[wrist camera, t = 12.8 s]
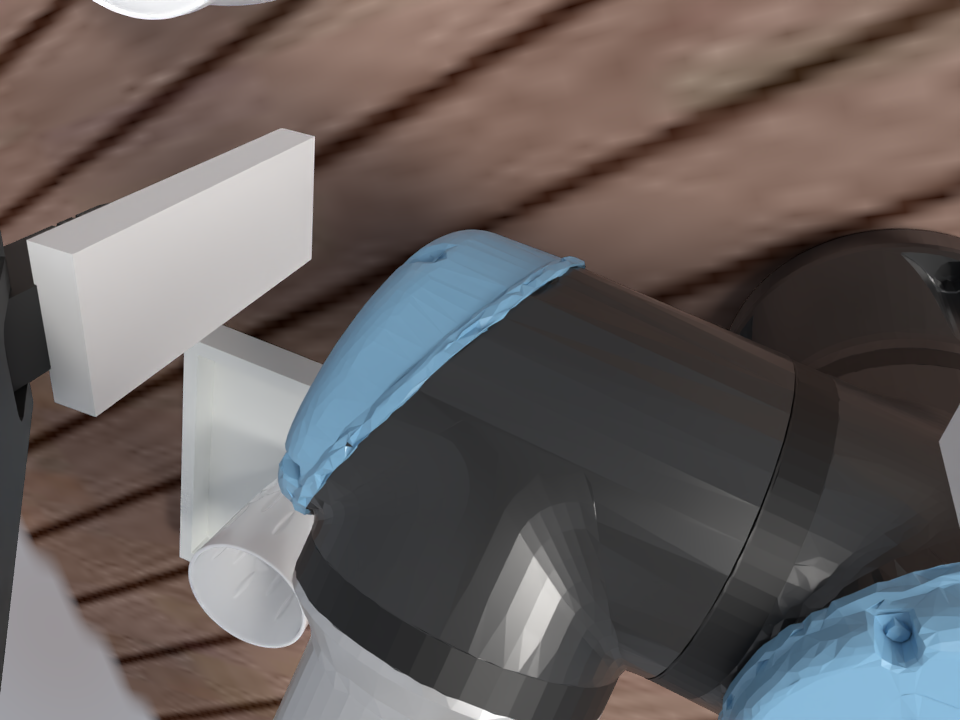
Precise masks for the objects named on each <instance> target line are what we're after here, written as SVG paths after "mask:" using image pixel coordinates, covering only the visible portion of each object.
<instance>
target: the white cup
mask: <svg viewBox="0 0 960 720" xmlns="http://www.w3.org/2000/svg"><path fill="white" fill-rule="evenodd" d="M313 523H314V515H308V514H306V515H304V514H302V513H300V512H298V511H296V510H294V507H293V504H292V502H291V501H290V500H289V499H287V498H286V497H285V496H284V495H283V494H282V492H281V490H280V487H279V483H278V477H277V478H276V479H275V480H274V481H273V482H272V483H270V484H269V485H268V486H266V487H265V488H264V489H262V490H261V491H260V492H259V493H258V494H257V495H256V496H255V497H254V498H253V499H252V500H251V501H250V502H248V503H247V504H246V505H245V506H244V507H243V508H242V509H241V510H240V511H239V512H238V513H236V514H235V515H234V516H233V517H232V518H231V519H230V520H229V521H228V522H227V523H226V524H225V525H224V526H223V527H222V528H221V529H220V530H219V531H218V532H217V533H216V534H215V535H214V536H213V537H212V538H211V539H210V540H209V541H207V542H206V543H205V544H204V545H203V546H202V547H201V548H200V549H199V550H198V551H197V552H196V553H195V554H194V555H193V557H192V559H191V561H190V564H189V569H188V576H189V582H190V586H191V589H192V591H193V594H194V596H195V598H196V599H197V601H198V603H199V604H200V606H201V607H202V608H203V610H204V611H205V612H206V613H207V615H208V616H209V617H210V618H211V619H212V620H213V621H214V622H215V623H217V624H218V625H219V626H220V627H221V628H223V629H224V630H225V631H227V632H228V633H230V634H231V635H233V636H235V637H237V638H238V639H240V640H243V641H245V642H247V643H250V644H253V645H256V646H260V647H266V648H280V647H285V646H288V645H291V644H293V643H294V642H296V641H297V640H298V639H299V638H300V637H301V635H302V634H303V632H304V630H305V629H306V627H307V626H308V624H309V623H308V620H307V618H306V616H305V614H304V611H303V609H302V607H301V605H300V602H299V600H298V598H297V595H296V593H295V591H294V587H293V583H292V575H293V571H294V568H295V565H296V561H297V559H298V557H299V555H300V553H301V551H302V549H303V546H304V544H305V542H306V540H307V538H308V535H309V533H310V531H311V529H312V525H313Z"/></svg>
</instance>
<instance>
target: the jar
mask: <svg viewBox="0 0 960 720" xmlns="http://www.w3.org/2000/svg"><path fill="white" fill-rule="evenodd" d="M93 1H94V2H96V3H98V4H100V5H101V6H103V7H105V8H107V9H110V10H112V11H114V12H117V13H120V14H123V15H126V16H130V17H134V18H139V19H149V20H158V19H168V18H173V17H177V16H181V15H185V14H189V13H192V12H195V11H197V10H200V9H202V8H204V7H206V6H208V5H218V6H241V5H253V4H260V3H266V2H271V1H275V0H93Z"/></svg>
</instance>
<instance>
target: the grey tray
mask: <svg viewBox="0 0 960 720" xmlns="http://www.w3.org/2000/svg"><path fill="white" fill-rule="evenodd" d="M322 365H323V364H320V363H318V362H315V361H313V360H310V359H308V358H305V357H303V356H300V355H298V354H295V353H292V352H290V351H287V350H285V349H282V348H280V347H277V346H275V345H272V344H270V343H267V342H264V341H262V340H259V339H257V338H254V337H252V336H249V335H247V334H244V333H242V332H239V331H236V330H234V329H231V328H229V327H226V326H224V325H221V326H220V327H218V328H217V329H215V330H214V331H213V332H211V333H210V334H209V335H207V336H206V337H205V338H203V339H202V340H200V341H199V342H198V343H196V344H195V345H194V346H192V347H191V348H190V349H188V350H187V351H185V352H184V381H183V425H182V470H181V515H180V557H181V558H183V559H185V560H187V561H189V562H190V561H191V559H192V557H193V555H194V554H195V553H196V552H197V551H198V550H199V549H200V548H201V547H202V546H203V545H204V544H205V543H206V542H207V541H209V540H210V539H211V538H212V537H213V536H214V535H215V534H216V533H217V532H218V531H219V530H220V529H221V528H222V527H223V526H224V525H225V524H226V523H227V522H228V521H229V520H230V519H231V518H232V517H233V516H234V515H235V514H236V513H238V512H239V511H240V510H241V509H242V508H243V507H244V506H245V505H246V504H247V503H248V502H250V501H251V500H252V499H253V498H254V497H255V496H256V495H257V494H258V493H259V492H260V491H261V490H262V489H264V488H265V487H266V486H268V485H269V484H270V483H272V482H273V481H274V480H275V479H276V478H277V477H278V469H279V463H280V462H281V460H282V458H283V457H284V455H285V453H286V452H287V451H286V449H285V442H286V439H287V435H288V432H289V430H290V427H291V425H292V422H293V420H294V418H295V416H296V414H297V411H298V409H299V407H300V405H301V403H302V401H303V399H304V398H305V396H306V394H307V392H308V390H309V388H310V386H311V384H312V383H313V381H314V379H315V377H316V376H317V374H318V372H319V371H320V369H321V367H322Z"/></svg>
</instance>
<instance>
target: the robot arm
mask: <svg viewBox="0 0 960 720" xmlns="http://www.w3.org/2000/svg"><path fill="white" fill-rule="evenodd" d="M314 151H315V136H311V135H307V134H303V133H299V132H296V131H292V130H288V129H284V128H280V129H278V130H276V131H273V132H271V133H269V134H267V135H264V136H262V137H260V138H258V139H255V140H253V141H251V142H248V143H246V144H244V145H242V146H239V147H237V148H235V149H232V150H230V151H228V152H226V153H223V154H221V155H219V156H217V157H214V158H212V159H210V160H207V161H205V162H203V163H201V164H198V165H196V166H194V167H192V168H189V169H187V170H185V171H182V172H180V173H178V174H176V175H173V176H171V177H169V178H167V179H164V180H162V181H160V182H157V183H155V184H153V185H151V186H148V187H146V188H144V189H142V190H139V191H137V192H135V193H132V194H130V195H128V196H126V197H123V198H121V199H119V200H116V201H114V202H112V203H108V204H103V205H99V206H96V207H94V208H92V209H89V210H87V211H85V212H82V213H80V214H78V215H76V218H72V217H71V218H69V219H66V220H64V221H62V222H60V223H57V226H56V227H55V226H50V227H48V228H46V229H43V230H41V231H39V232H37V233H34V234H32V235H30V236H27V237H25V238H23V239H20V240H18V241H16V242H14V243H11V244H9V245H7V246H4V247H3V242H2V237H1V232H0V690H1V681H2V672H3V664H4V655H5V646H6V637H7V628H8V620H9V611H10V601H11V593H12V585H13V576H14V567H15V558H16V550H17V541H18V532H19V523H20V515H21V506H22V497H23V488H24V480H25V471H26V462H27V453H28V445H29V436H30V427H31V418H32V409H33V398H32V393H31V388H30V382H31V381H32V380H34V379H35V378H37V377H39V376H40V375H42V374H43V373H45V372H47V371H48V370H49V372H50V378H51V384H52V389H53V395H54V401H55V403H58V404H61V405H64V406H67V407H69V408H72V409H75V410H78V411H80V412H83V413H86V414H89V415H92V416H94V417H97V416H98V415H99V414H101V413H102V412H103V411H105V410H106V409H108V408H109V407H110V406H112V405H113V404H114V403H116V402H117V401H118V400H120V399H121V398H123V397H124V396H125V395H127V394H128V393H129V392H131V391H132V390H133V389H135V388H136V387H138V386H139V385H140V384H142V383H143V382H144V381H146V380H147V379H149V378H150V377H151V376H153V375H154V374H155V373H157V372H158V371H159V370H161V369H162V368H164V367H165V366H166V365H168V364H169V363H170V362H172V361H173V360H174V359H176V358H177V357H179V356H180V355H181V354H183V353H184V352H185V351H187V350H188V349H190V348H191V347H192V346H194V345H195V344H196V343H198V342H199V341H200V340H202V339H203V338H205V337H206V336H207V335H209V334H210V333H211V332H213V331H214V330H215V329H217V328H218V327H220V326H221V325H222V324H224V323H225V322H226V321H228V320H229V319H231V318H232V317H233V316H235V315H236V314H237V313H239V312H240V311H241V310H243V309H244V308H246V307H247V306H248V305H250V304H251V303H252V302H254V301H255V300H256V299H258V298H259V297H261V296H262V295H263V294H265V293H266V292H267V291H269V290H270V289H272V288H273V287H274V286H276V285H277V284H278V283H280V282H281V281H282V280H284V279H285V278H287V277H288V276H289V275H291V274H292V273H293V272H295V271H296V270H297V269H299V268H300V267H302V266H303V265H304V264H306V263H307V262H308V261H310V260H311V258H312V223H313V187H314ZM585 267H586V266H585V263H584V261H582V260H580V259H578V258H576V257H571V256H569V257H564V258H560V257H557V256H555V255H552V254H549V253H546V252H544V251H541V250H538V249H536V248H533V247H530V246H528V245H525V244H522V243H519V242H517V241H514V240H511V239H509V238H506V237H503V236H500V235H498V234H495V233H492V232H488V231H484V230H462V231H457V232H453V233H450V234H447V235H444V236H442V237H440V238H438V239H436V240H434V241H432V242H430V243H429V244H427V245H426V246H424V247H423V248H421V249H420V250H419V251H417V252H416V253H415V254H414V255H413V256H411V257H410V258H409V259H408V260H407V261H406V262H405V263H404V264H403V265H402V266H400V267H399V268H398V269H397V270H396V271H395V272H394V273H393V274H392V275H391V276H390V277H389V278H388V279H387V280H386V281H385V282H384V283H383V284H382V285H381V287H380V288H379V289H378V290H377V291H376V292H375V293H374V294H373V296H372V297H371V298H370V299H369V300H368V301H367V303H366V304H365V305H364V306H363V308H362V309H361V310H360V312H359V313H358V314H357V316H356V317H355V318H354V320H353V321H352V322H351V324H350V325H349V326H348V328H347V329H346V331H345V332H344V333H343V335H342V336H341V338H340V339H339V341H338V342H337V343H336V345H335V346H334V348H333V350H332V351H331V353H330V354H329V356H328V357H327V359H326V361H325V362H324V364H323V365H322V367H321V369H320V371H319V372H318V374H317V376H316V377H315V379H314V381H313V383H312V384H311V386H310V388H309V390H308V392H307V394H306V396H305V398H304V399H303V401H302V403H301V405H300V407H299V409H298V411H297V414H296V416H295V418H294V420H293V422H292V425H291V427H290V430H289V432H288V435H287V439H286V442H285V449H286V451H287V452H286V453H285V455H284V457H283V458H282V460H281V462H280V463H279V469H278V483H279V487H280V490H281V492H282V494H283V495H284V496H285V497H286V498H287V499H289V500H290V501H291V502H292V504H293V507H294V510H296V511H298V512H300V513H302V514H304V515H306V514H308V515H314V523H313V525H312V529H311V531H310V533H309V535H308V538H307V540H306V542H305V544H304V546H303V549H302V551H301V553H300V555H299V557H298V559H297V561H296V565H295V568H294V571H293V575H292V583H293V587H294V591H295V593H296V595H297V598H298V600H299V602H300V605H301V607H302V609H303V611H304V614H305V616H306V618H307V620H308V623H309V625H310V627H311V638H310V640H309V642H308V644H307V646H306V649H305V651H304V653H303V655H302V658H301V660H300V662H299V664H298V666H297V669H296V671H295V673H294V675H293V677H292V680H291V682H290V684H289V686H288V688H287V691H286V693H285V695H284V697H283V699H282V702H281V704H280V706H279V708H278V710H277V713H276V715H275V717H274V719H273V720H599V719H600V717H601V715H602V713H603V710H604V708H605V706H606V704H607V702H608V700H609V697H610V695H611V693H612V691H613V689H614V687H615V685H616V682H617V680H618V678H619V676H620V675H621V674H622V673H623V672H624V671H625V670H627V671H629V672H632V673H634V674H637V675H640V676H642V677H645V678H646V679H648V680H651V681H653V682H655V683H657V684H659V685H661V686H663V687H665V688H667V689H669V690H671V691H673V692H675V693H677V694H679V695H681V696H683V697H685V698H687V699H689V700H690V701H692V702H694V703H696V704H698V705H700V706H703V707H705V708H707V709H709V710H710V711H712V712H714V713H716V714H718V715H719V717H718V720H960V238H958V237H955V236H951V235H947V234H942V233H937V232H930V231H922V230H907V229H894V230H878V231H871V232H864V233H859V234H854V235H849V236H845V237H842V238H838V239H835V240H832V241H829V242H826V243H824V244H821V245H819V246H816V247H814V248H812V249H810V250H808V251H806V252H804V253H802V254H800V255H798V256H796V257H795V258H793V259H791V260H790V261H788V262H787V263H785V264H784V265H782V266H781V267H779V268H778V269H777V270H776V271H774V272H773V273H772V274H770V275H769V276H768V277H767V278H766V279H765V280H764V281H763V282H762V283H761V284H760V285H759V286H758V287H757V288H756V289H755V290H754V291H753V292H752V294H751V295H750V296H749V297H748V299H747V300H746V301H745V303H744V304H743V306H742V307H741V309H740V310H739V312H738V314H737V316H736V317H735V319H734V322H733V324H732V326H731V328H730V331H728V330H726V329H724V328H721V327H719V326H717V325H714V324H712V323H710V322H707V321H705V320H703V319H700V318H698V317H696V316H693V315H691V314H689V313H686V312H684V311H682V310H679V309H677V308H674V307H672V306H670V305H667V304H665V303H663V302H660V301H658V300H656V299H653V298H651V297H649V296H646V295H644V294H642V293H639V292H637V291H635V290H632V289H630V288H628V287H625V286H623V285H621V284H618V283H616V282H614V281H611V280H609V279H606V278H604V277H602V276H599V275H597V274H595V273H592V272H590V271H588V270H585Z"/></svg>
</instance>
